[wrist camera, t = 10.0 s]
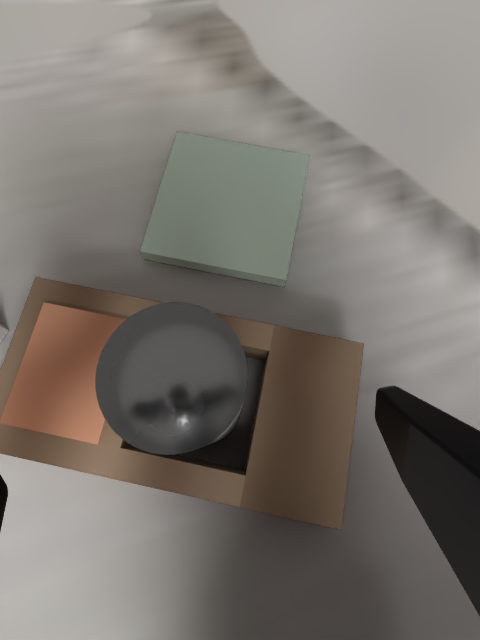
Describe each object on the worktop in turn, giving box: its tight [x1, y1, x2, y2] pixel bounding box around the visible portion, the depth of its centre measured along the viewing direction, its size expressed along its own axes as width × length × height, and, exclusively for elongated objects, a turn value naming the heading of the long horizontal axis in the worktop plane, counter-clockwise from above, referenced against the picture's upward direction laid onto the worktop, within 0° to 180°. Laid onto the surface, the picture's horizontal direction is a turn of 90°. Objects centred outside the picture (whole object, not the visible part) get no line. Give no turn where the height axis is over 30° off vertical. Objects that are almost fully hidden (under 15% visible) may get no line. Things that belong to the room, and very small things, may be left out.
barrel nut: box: [95, 302, 248, 455], centre depth 15 cm, size 4×4×10 cm
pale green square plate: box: [140, 131, 310, 287], centre depth 23 cm, size 8×8×1 cm
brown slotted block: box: [0, 277, 364, 530], centre depth 19 cm, size 16×8×3 cm, turn 78°
